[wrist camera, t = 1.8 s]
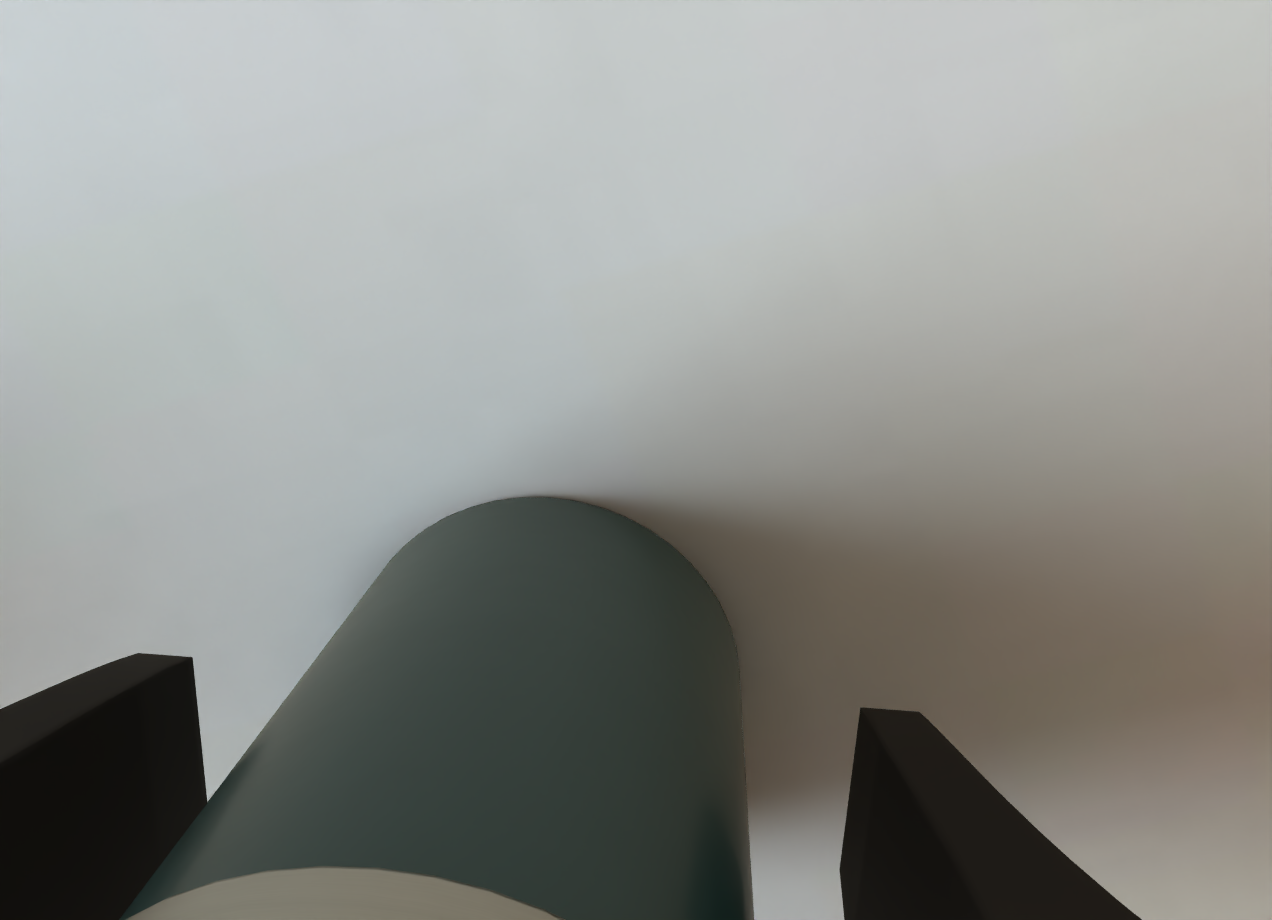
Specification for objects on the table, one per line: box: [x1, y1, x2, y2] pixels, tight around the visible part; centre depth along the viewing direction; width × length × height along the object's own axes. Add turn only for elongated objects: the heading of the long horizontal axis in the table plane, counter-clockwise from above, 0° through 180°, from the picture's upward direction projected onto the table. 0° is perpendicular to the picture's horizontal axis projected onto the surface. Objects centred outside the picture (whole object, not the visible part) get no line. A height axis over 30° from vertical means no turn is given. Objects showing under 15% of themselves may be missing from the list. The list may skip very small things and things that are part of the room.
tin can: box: [119, 497, 754, 920], centre depth 9 cm, size 5×5×7 cm
